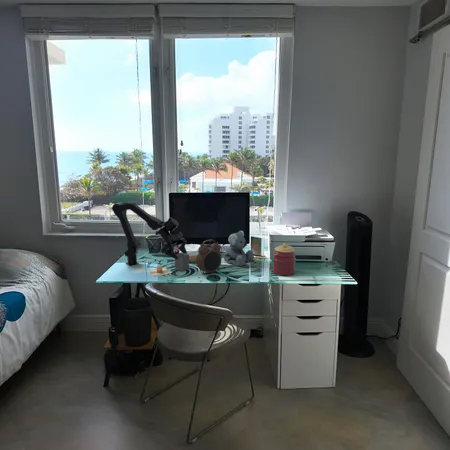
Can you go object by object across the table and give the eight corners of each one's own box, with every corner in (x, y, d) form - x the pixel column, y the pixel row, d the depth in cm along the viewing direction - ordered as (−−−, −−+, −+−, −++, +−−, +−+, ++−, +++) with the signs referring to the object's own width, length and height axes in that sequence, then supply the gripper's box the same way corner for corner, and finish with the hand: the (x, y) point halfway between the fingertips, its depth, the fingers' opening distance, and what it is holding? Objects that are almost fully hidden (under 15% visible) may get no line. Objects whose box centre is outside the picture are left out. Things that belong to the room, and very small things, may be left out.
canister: (278, 277, 198) (279, 247, 194) (269, 269, 210) (270, 241, 206) (299, 275, 201) (300, 245, 197) (289, 267, 213) (290, 239, 209)
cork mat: (146, 271, 206) (146, 271, 206) (163, 268, 212) (163, 267, 212) (155, 277, 197) (154, 276, 197) (172, 273, 203) (172, 272, 203)
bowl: (175, 257, 233) (175, 245, 231) (198, 254, 240) (198, 242, 238) (183, 264, 219) (183, 252, 217) (207, 261, 226) (207, 249, 224)
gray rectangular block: (175, 270, 208) (174, 255, 206) (181, 267, 213) (180, 252, 211) (183, 272, 205) (182, 256, 203) (189, 269, 210) (188, 254, 208)
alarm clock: (202, 277, 197) (201, 243, 192) (195, 274, 202) (195, 240, 198) (223, 272, 205) (223, 239, 201) (216, 269, 211) (216, 236, 206)
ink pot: (155, 271, 205) (155, 266, 204) (160, 270, 207) (160, 265, 206) (158, 273, 202) (158, 267, 202) (163, 271, 204) (163, 266, 203)
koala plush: (242, 267, 213) (242, 236, 209) (217, 262, 222) (217, 232, 218) (255, 260, 227) (255, 230, 223) (231, 255, 237) (231, 227, 232)
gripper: (163, 231, 199) (180, 253, 196) (183, 225, 214) (198, 245, 211) (153, 243, 204) (169, 264, 201) (173, 236, 220) (188, 255, 217)
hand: (182, 256), depth 207 cm, fingers open, 9 cm apart
